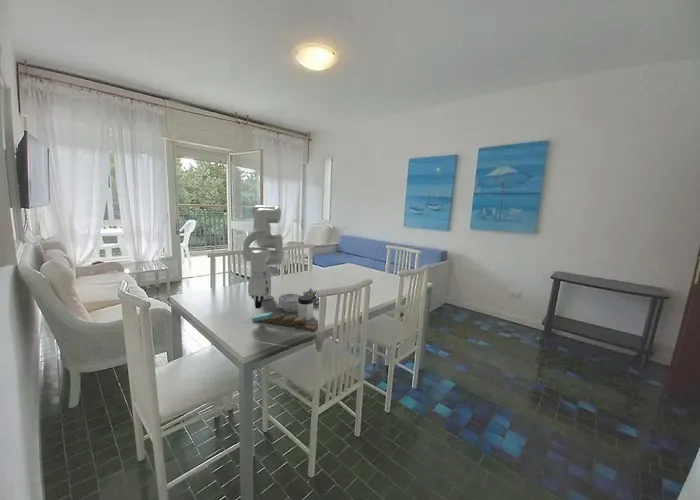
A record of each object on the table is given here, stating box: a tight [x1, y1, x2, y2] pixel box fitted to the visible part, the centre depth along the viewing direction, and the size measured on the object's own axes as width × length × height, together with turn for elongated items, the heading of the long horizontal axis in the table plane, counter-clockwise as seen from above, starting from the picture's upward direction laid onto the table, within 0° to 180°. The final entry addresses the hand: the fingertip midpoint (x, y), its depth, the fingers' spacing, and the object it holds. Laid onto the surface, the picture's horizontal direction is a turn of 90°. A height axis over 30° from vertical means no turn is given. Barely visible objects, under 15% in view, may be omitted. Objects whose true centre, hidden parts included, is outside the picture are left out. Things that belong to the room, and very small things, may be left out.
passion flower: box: [302, 287, 319, 307], centre depth 182 cm, size 11×11×12 cm
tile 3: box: [273, 314, 296, 325], centre depth 150 cm, size 2×5×10 cm
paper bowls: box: [278, 293, 303, 313], centre depth 171 cm, size 15×15×8 cm
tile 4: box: [284, 317, 306, 326], centre depth 149 cm, size 2×5×10 cm
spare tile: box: [252, 311, 275, 322], centre depth 152 cm, size 2×5×10 cm
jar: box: [296, 294, 314, 322], centre depth 159 cm, size 9×8×12 cm
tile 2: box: [262, 313, 285, 323], centre depth 151 cm, size 2×5×10 cm
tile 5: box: [295, 321, 318, 332], centre depth 147 cm, size 2×5×10 cm
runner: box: [242, 314, 297, 331], centre depth 152 cm, size 29×10×1 cm, turn 77°
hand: (258, 307), depth 152 cm, fingers closed
